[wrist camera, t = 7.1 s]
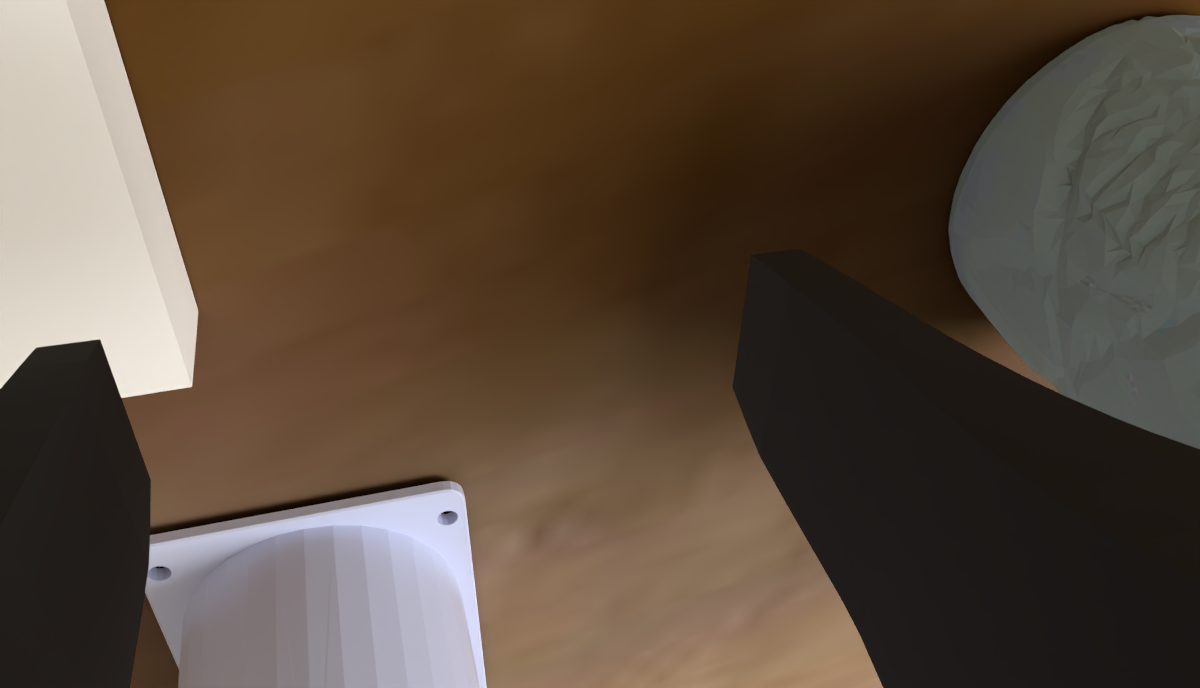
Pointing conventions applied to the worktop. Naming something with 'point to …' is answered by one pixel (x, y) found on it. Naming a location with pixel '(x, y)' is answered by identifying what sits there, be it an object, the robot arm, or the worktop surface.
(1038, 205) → the pale teal cup
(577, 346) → the worktop surface
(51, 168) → the white frame with crossbar
